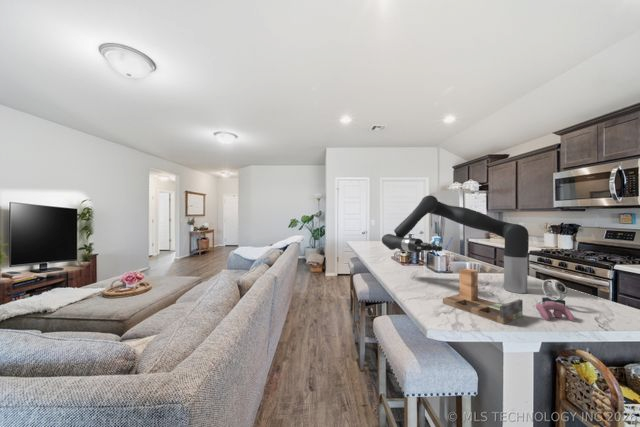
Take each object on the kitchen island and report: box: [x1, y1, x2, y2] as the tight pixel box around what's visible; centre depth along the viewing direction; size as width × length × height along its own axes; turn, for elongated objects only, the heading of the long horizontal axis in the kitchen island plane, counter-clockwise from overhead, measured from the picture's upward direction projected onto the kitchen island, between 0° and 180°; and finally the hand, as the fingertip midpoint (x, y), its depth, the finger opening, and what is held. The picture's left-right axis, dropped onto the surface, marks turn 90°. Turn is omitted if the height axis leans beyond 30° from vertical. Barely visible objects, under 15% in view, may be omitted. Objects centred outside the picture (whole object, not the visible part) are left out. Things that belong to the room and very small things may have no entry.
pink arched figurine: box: [535, 301, 575, 322], centre depth 90 cm, size 10×5×7 cm, turn 85°
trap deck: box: [442, 293, 524, 325], centre depth 98 cm, size 14×23×6 cm, turn 29°
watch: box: [541, 279, 568, 306], centre depth 100 cm, size 6×8×11 cm
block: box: [458, 268, 479, 301], centre depth 106 cm, size 5×5×12 cm
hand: (441, 248), depth 117 cm, fingers closed
